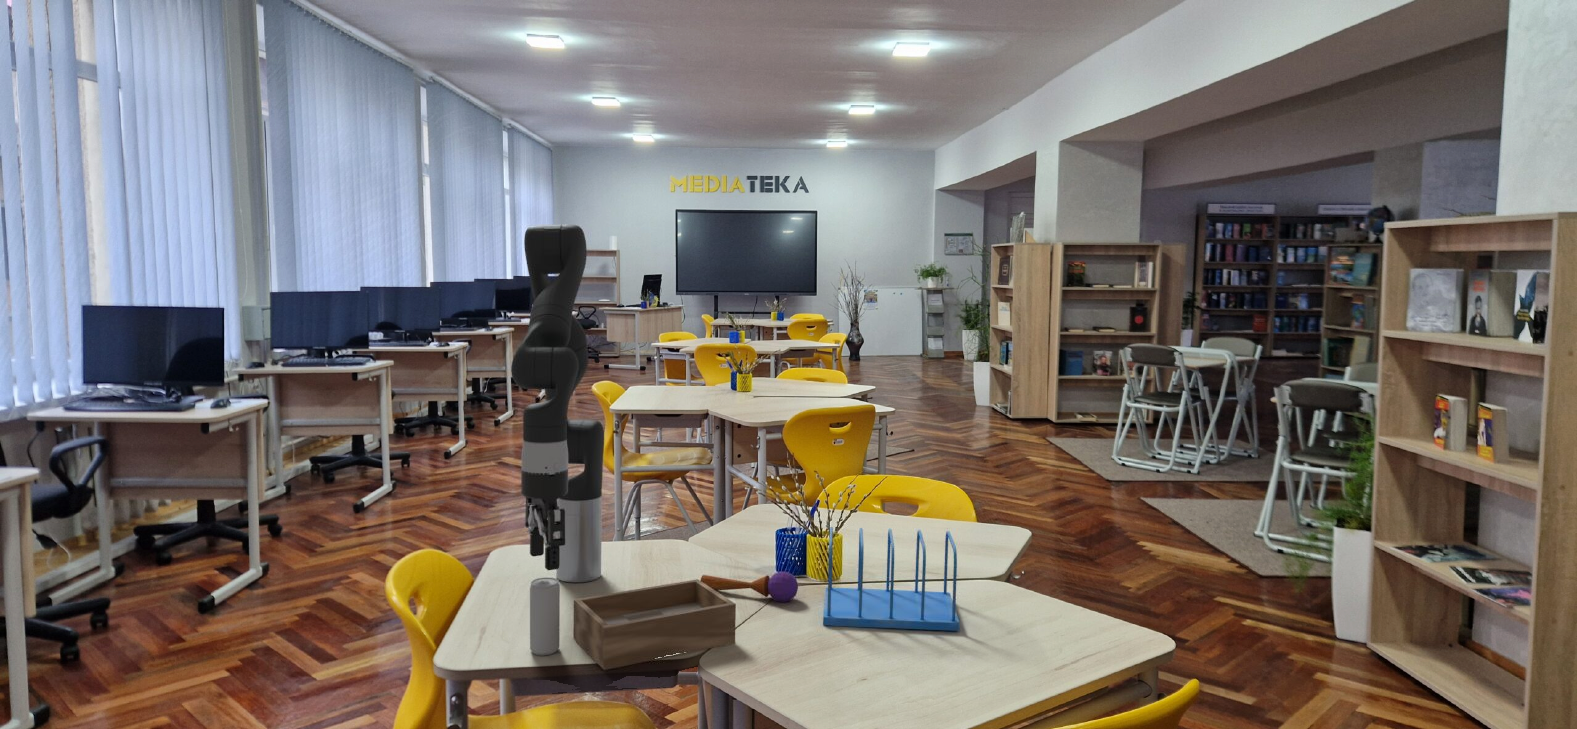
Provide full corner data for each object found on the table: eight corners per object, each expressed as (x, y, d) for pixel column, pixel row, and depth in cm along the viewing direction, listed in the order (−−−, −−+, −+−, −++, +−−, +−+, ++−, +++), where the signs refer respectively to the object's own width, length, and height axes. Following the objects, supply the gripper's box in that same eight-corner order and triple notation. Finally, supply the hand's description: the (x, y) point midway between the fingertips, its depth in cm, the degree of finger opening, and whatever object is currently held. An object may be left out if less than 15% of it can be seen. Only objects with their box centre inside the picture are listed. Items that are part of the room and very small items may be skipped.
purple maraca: (708, 566, 194) (801, 570, 188) (708, 596, 193) (801, 600, 187) (697, 569, 188) (792, 573, 182) (697, 600, 187) (792, 605, 181)
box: (573, 638, 164) (573, 599, 163) (697, 615, 176) (697, 579, 175) (604, 670, 151) (604, 628, 150) (734, 642, 163) (735, 604, 163)
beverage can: (551, 658, 155) (551, 587, 154) (524, 654, 156) (524, 585, 155) (564, 646, 160) (564, 578, 159) (538, 644, 161) (538, 576, 160)
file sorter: (949, 601, 188) (952, 526, 187) (959, 634, 171) (963, 552, 169) (825, 595, 190) (827, 521, 188) (822, 627, 172) (825, 545, 171)
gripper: (510, 460, 159) (510, 554, 160) (534, 476, 147) (534, 577, 148) (553, 457, 163) (553, 548, 164) (581, 472, 151) (580, 571, 152)
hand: (544, 562), depth 156 cm, fingers open, 8 cm apart
